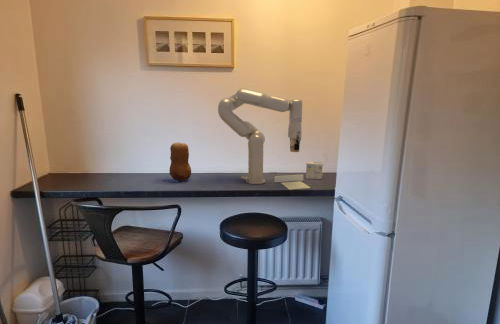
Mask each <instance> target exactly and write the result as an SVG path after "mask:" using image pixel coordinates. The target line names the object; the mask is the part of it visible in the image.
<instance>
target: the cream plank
mask: <svg viewBox="0 0 500 324" xmlns="http://www.w3.org/2000/svg"><path fill="white" fill-rule="evenodd" d="M303 181H304V174H289V175H275V176H274V183H285V182H303Z"/></svg>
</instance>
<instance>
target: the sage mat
mask: <svg viewBox="0 0 500 324" xmlns="http://www.w3.org/2000/svg"><path fill="white" fill-rule="evenodd" d="M280 184H281V185H282V186H284V188H286V189H288V190H289V191H290V190H291V191H292V190H305V189H311V187H310V186H309V185H307V184H306V183H304V182H303V181H288V182H280Z"/></svg>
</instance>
